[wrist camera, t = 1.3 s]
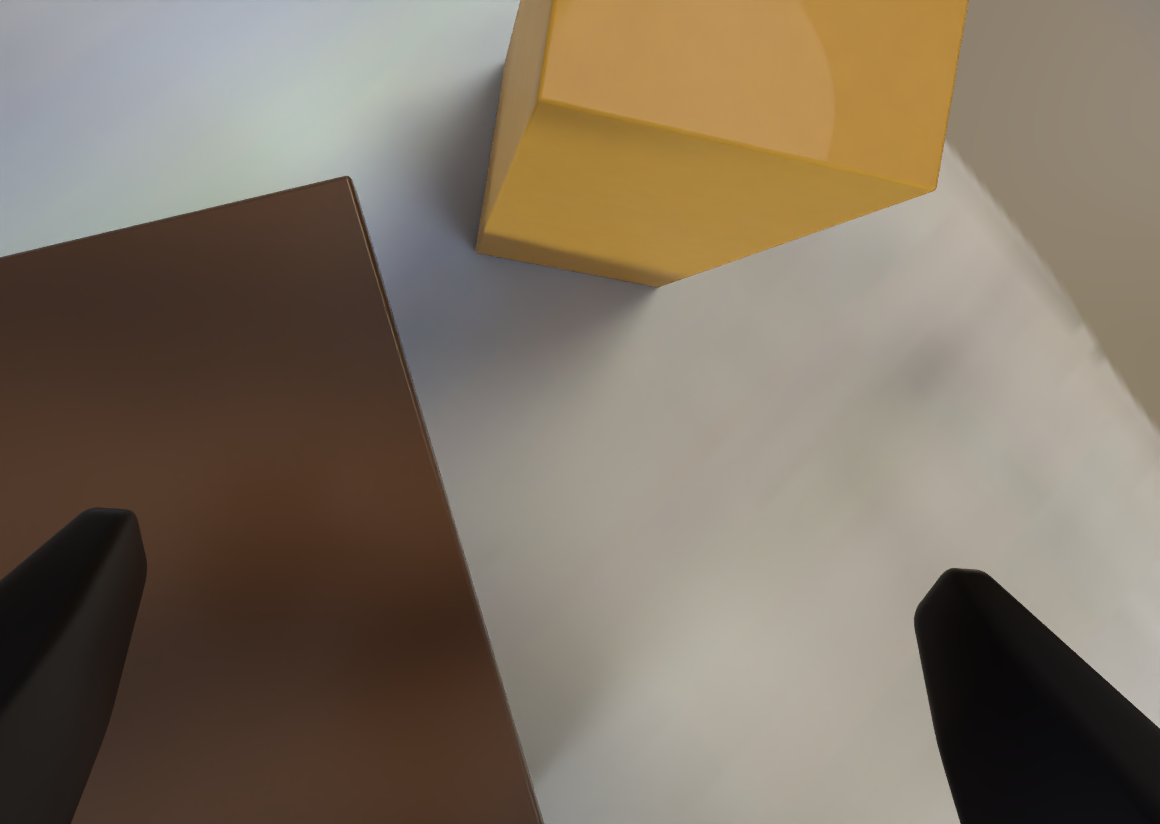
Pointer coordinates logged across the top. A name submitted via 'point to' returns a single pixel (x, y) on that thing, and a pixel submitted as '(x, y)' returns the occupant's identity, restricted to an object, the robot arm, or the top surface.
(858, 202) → the block
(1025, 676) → the robot arm
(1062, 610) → the top surface
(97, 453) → the board stand
